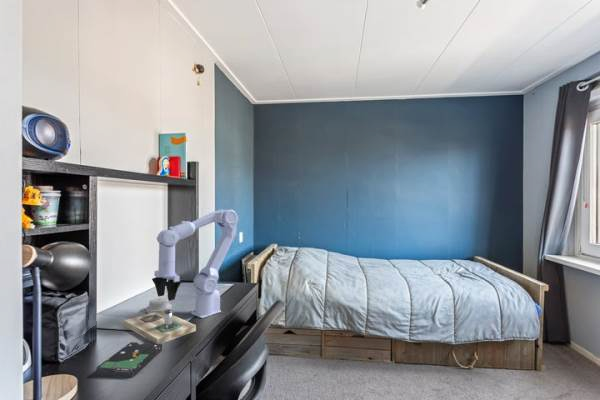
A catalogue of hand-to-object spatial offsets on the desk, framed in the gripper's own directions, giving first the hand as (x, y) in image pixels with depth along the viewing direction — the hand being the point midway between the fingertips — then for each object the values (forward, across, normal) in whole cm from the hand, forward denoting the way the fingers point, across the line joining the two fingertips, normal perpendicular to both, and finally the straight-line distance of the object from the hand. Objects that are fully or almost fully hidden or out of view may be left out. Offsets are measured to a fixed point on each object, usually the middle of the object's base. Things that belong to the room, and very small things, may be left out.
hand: (166, 297), depth 115 cm
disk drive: (+10, +19, -21) cm, 30 cm away
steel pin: (+9, +9, -4) cm, 14 cm away
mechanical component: (+10, -16, +6) cm, 19 cm away
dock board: (+9, +3, -4) cm, 11 cm away
